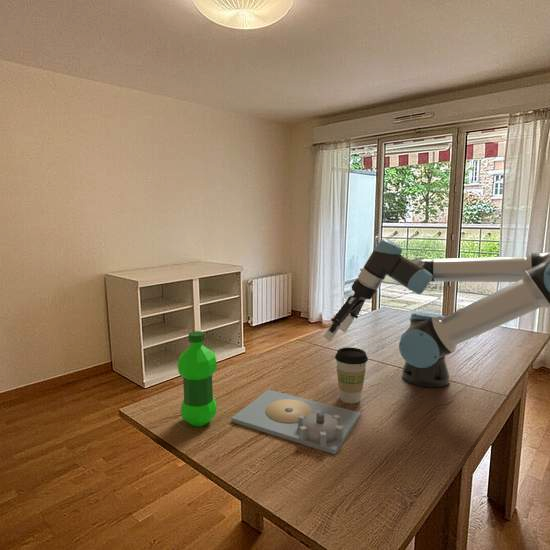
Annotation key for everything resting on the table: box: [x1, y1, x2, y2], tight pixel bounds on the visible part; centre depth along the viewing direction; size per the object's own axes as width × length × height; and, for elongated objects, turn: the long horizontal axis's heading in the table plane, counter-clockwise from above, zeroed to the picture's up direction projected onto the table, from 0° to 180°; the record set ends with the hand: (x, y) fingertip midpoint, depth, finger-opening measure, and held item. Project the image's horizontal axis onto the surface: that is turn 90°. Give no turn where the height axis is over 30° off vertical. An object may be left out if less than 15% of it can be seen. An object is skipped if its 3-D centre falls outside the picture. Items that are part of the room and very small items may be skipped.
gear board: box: [231, 389, 362, 455], centre depth 107 cm, size 30×20×6 cm
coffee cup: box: [334, 347, 369, 404], centre depth 118 cm, size 10×10×15 cm
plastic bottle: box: [177, 330, 218, 427], centre depth 104 cm, size 10×10×25 cm
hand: (334, 334), depth 133 cm, fingers open, 13 cm apart
